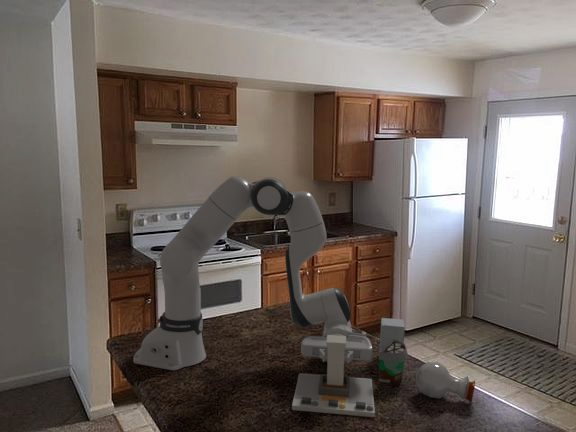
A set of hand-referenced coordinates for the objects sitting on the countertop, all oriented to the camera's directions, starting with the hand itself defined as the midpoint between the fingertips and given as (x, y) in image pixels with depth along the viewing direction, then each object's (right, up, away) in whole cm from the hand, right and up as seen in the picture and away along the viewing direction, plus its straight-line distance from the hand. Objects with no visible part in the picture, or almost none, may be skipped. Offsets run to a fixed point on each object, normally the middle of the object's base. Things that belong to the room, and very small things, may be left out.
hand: (335, 360), depth 127 cm
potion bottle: (+30, -11, +1) cm, 32 cm away
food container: (+18, -9, +10) cm, 23 cm away
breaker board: (0, -10, +1) cm, 10 cm away
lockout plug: (0, -6, +2) cm, 7 cm away
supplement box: (+20, -7, +24) cm, 32 cm away
